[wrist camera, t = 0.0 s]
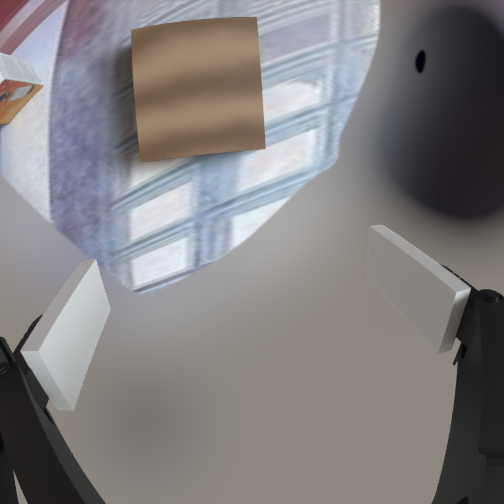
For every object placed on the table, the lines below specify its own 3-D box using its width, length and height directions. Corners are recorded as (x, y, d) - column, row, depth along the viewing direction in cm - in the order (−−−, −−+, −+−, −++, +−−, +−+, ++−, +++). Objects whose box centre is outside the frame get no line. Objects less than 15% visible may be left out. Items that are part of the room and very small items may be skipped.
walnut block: (141, 41, 32) (131, 29, 26) (249, 30, 33) (256, 16, 28) (149, 157, 38) (140, 162, 33) (257, 145, 39) (265, 149, 34)
